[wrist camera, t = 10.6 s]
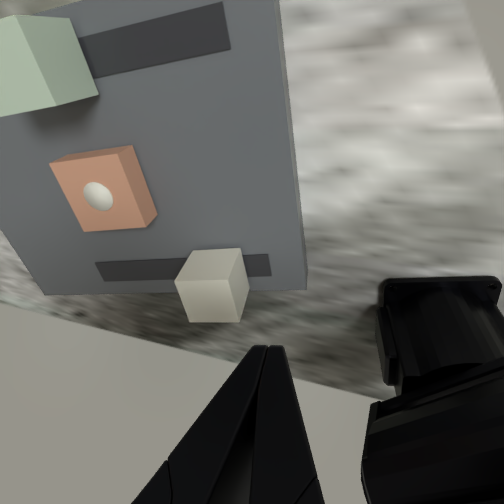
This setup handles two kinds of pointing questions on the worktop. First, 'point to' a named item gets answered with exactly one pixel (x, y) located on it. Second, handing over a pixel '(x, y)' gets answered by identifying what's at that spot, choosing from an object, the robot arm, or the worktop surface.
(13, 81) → the sage slider
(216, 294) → the cream slider
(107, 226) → the terracotta button
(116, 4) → the control panel
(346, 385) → the worktop surface
